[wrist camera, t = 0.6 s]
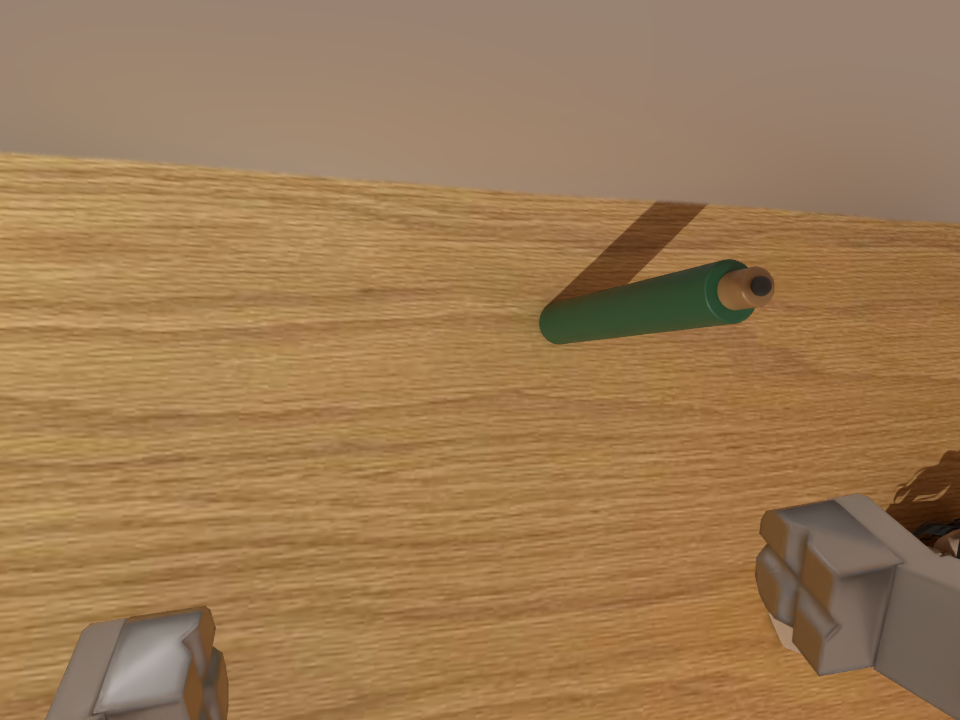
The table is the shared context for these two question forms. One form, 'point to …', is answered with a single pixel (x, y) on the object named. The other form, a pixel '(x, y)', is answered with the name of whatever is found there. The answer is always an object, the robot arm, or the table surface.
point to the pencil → (661, 304)
